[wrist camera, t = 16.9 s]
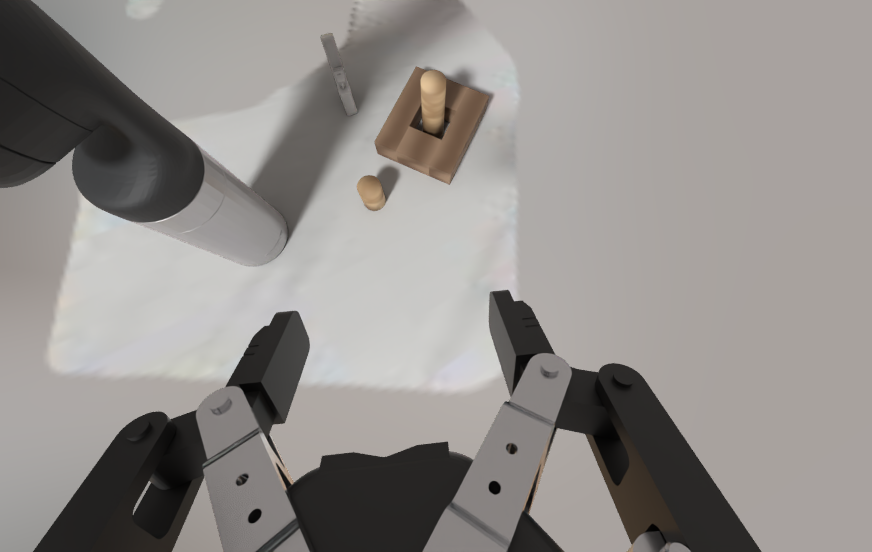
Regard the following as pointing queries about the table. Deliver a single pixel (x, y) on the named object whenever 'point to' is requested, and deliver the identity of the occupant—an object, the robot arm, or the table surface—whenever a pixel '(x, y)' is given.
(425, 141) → the hole plate
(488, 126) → the table surface
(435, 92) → the long pin
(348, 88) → the lighter
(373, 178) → the short pin
